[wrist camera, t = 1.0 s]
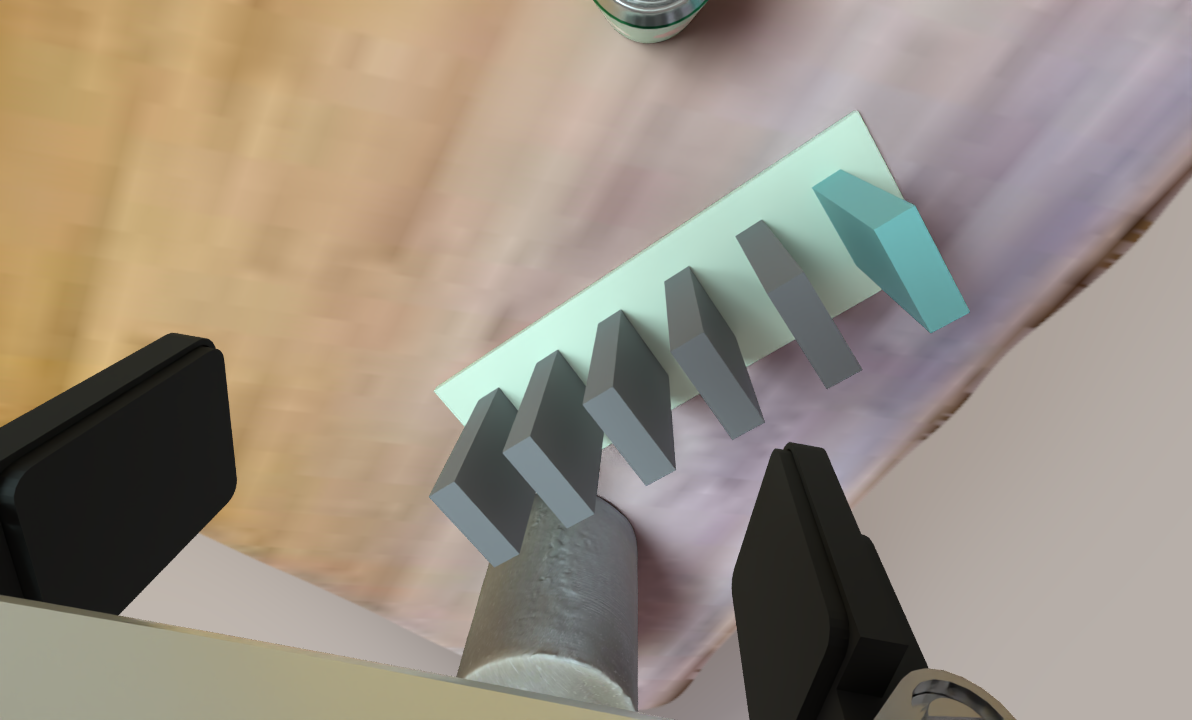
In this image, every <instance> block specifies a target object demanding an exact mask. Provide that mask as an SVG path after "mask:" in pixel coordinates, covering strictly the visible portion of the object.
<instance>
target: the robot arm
mask: <svg viewBox="0 0 1192 720" xmlns="http://www.w3.org/2000/svg"><path fill="white" fill-rule="evenodd" d="M236 484H237V476H236V467H235V457H234V448H233V438H232V429H231V420H230V410H229V401H228V391H227V382H226V373H225V363H224V357H223V354H222V352H221V351H220V350H218V349H216V348H215V346H214V344H213V342H212V341H210V340H209V339H206V338H200V337H195V336H189V335H183V334H178V333H170V334H167V335H165V336H163V337H162V338H160V339H158V340H156V341H154V342H153V343H151V344H149V345H147V346H145V347H144V348H142V349H140V350H138V351H136V352H135V353H133V354H131V355H129V356H128V357H126V358H124V359H122V360H120V361H119V362H117V363H115V364H113V365H111V366H110V367H108V368H106V369H104V370H102V371H101V372H99V373H97V374H95V375H94V376H92V377H90V378H88V379H86V380H85V381H83V382H81V383H79V384H77V385H76V386H74V387H72V388H70V389H69V390H67V391H65V392H63V393H61V394H60V395H58V396H56V397H54V398H52V399H51V400H49V401H47V402H45V403H43V404H42V405H40V406H38V407H36V408H35V409H33V410H31V411H29V412H27V413H26V414H24V415H22V416H20V417H18V418H17V419H15V420H13V421H11V422H9V423H8V424H6V425H4V426H2V427H1V428H0V720H675V719H669V718H664V717H658V716H654V715H649V714H644V713H640V712H635V711H630V710H625V709H620V708H615V707H610V706H605V705H600V704H594V703H589V702H584V701H578V700H573V699H568V698H563V697H557V696H552V695H547V694H542V693H536V692H531V691H526V690H521V689H515V688H510V687H505V686H500V685H494V684H489V683H484V682H479V681H473V680H468V679H463V678H457V677H452V676H447V675H441V674H436V673H431V672H425V671H420V670H415V669H409V668H404V667H398V666H392V665H388V664H382V663H377V662H372V661H366V660H360V659H355V658H350V657H345V656H339V655H334V654H328V653H322V652H317V651H311V650H306V649H301V648H295V647H290V646H285V645H279V644H273V643H268V642H263V641H257V640H252V639H246V638H241V637H235V636H230V635H224V634H219V633H213V632H208V631H202V630H196V629H191V628H185V627H179V626H174V625H168V624H162V623H157V622H151V621H146V620H140V619H134V618H129V617H123V616H118V615H119V614H120V613H121V612H122V611H123V610H124V609H125V608H126V607H127V606H128V605H129V604H130V603H131V602H132V601H133V600H134V599H135V598H136V597H137V596H138V595H139V593H141V592H142V590H144V588H145V587H146V586H147V585H148V584H149V583H150V582H151V581H152V580H153V579H154V578H155V577H156V576H157V575H158V574H159V573H160V572H161V571H162V570H163V569H164V568H165V567H166V566H167V565H168V564H169V563H170V562H171V561H172V560H173V559H174V558H175V557H176V556H177V554H178V553H179V552H180V551H181V550H182V549H183V548H184V547H185V546H186V545H187V544H188V543H189V542H190V541H191V540H192V539H193V538H194V537H195V536H196V535H197V534H198V533H199V532H200V531H201V530H202V529H203V528H204V527H205V526H206V525H207V524H208V523H209V522H210V521H211V520H212V518H213V517H214V516H215V515H216V514H217V513H218V512H219V511H220V510H221V509H222V508H223V507H224V506H225V505H226V504H227V503H228V502H229V501H230V499H231V498H232V496H233V494H234V492H235V489H236ZM732 597H733V604H734V611H735V618H736V626H737V633H738V640H739V647H740V654H741V662H742V669H743V676H744V683H745V690H746V698H747V705H748V712H749V719H750V720H1016V719H1015V718H1014V717H1013V716H1012V715H1011V713H1009V711H1008V710H1007V709H1006V708H1005V707H1004V706H1003V705H1002V704H1001V703H1000V702H999V701H998V700H996V699H995V698H994V697H993V696H991V695H990V694H989V693H987V692H986V691H985V690H984V689H982V688H981V687H979V686H977V685H976V684H974V683H972V682H970V681H968V680H967V679H965V678H963V677H961V676H958V675H955V674H952V673H949V672H947V671H944V670H936V669H929V668H928V666H927V663H926V661H925V659H924V657H923V654H922V652H921V650H920V648H919V645H918V643H917V641H916V639H915V637H914V634H913V632H912V630H911V628H910V625H909V623H908V621H907V619H906V616H905V614H904V612H903V610H902V607H901V605H900V603H899V601H898V598H897V596H896V594H895V592H894V589H893V587H892V585H891V583H890V580H889V578H888V576H887V574H886V571H885V569H884V567H883V565H882V562H881V560H880V558H879V556H878V553H877V551H876V549H875V547H874V545H873V543H872V541H871V540H870V538H868V537H867V536H865V535H862V534H861V532H860V530H859V528H858V525H857V523H856V521H855V518H854V516H853V514H852V511H851V509H850V507H849V504H848V502H847V500H846V497H845V495H844V493H843V490H842V488H841V486H840V483H839V481H838V479H837V476H836V474H835V472H834V469H833V467H832V465H831V462H830V460H829V458H828V455H827V453H826V451H825V450H824V449H823V448H820V447H814V446H808V445H803V444H797V443H792V442H789V443H787V444H786V446H785V447H784V449H783V450H782V449H774V450H773V452H772V454H771V456H770V459H769V463H768V466H767V469H766V472H765V475H764V478H763V481H762V484H761V487H760V491H759V494H758V497H757V500H756V503H755V506H754V509H753V512H752V515H751V518H750V522H749V525H748V528H747V531H746V534H745V537H744V540H743V543H742V546H741V549H740V553H739V556H738V559H737V562H736V565H735V568H734V572H733V577H732Z"/></svg>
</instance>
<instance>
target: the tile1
mask: <svg viewBox="0 0 1192 720" xmlns="http://www.w3.org/2000/svg"><path fill="white" fill-rule="evenodd" d="M812 189H813V191H814V192H815V194H816V196H817V198H818V199H819V201H820V203H821V205H822V206H823V208H824V210H825V212H826V214H827V215H828V217H829V219H830V221H831V222H832V224H833V226H834V228H835V229H836V231H837V233H838V235H839V236H840V238H841V240H842V242H843V243H844V245H845V247H846V249H847V251H848V252H849V254H850V256H851V258H852V259H853V261H854V263H855V265H856V266H857V267H858V268H859V269H860V270H861V271H863V272H864V273H865V274H866V275H867V276H868V277H869V278H870V279H871V280H872V281H874V282H875V283H876V284H877V285H878V286H879V287H880V288H881V289H882V290H883V291H885V292H886V293H887V294H888V295H889V296H890V297H891V298H892V299H893V300H894V301H896V302H897V303H898V304H899V305H900V306H901V307H902V308H903V309H904V310H905V311H907V312H908V313H909V314H910V315H911V316H912V317H913V318H914V319H915V320H916V321H918V322H919V323H920V324H921V325H922V326H923V327H924V328H925V329H926V330H927V331H929V332H930V333H933V332H934V331H936V330H938V329H940V328H942V327H944V326H946V325H947V324H949V323H951V322H953V321H955V320H957V319H959V318H961V317H962V316H964V315H966V314H968V313H970V311H969V309H968V307H967V305H966V303H965V301H964V299H963V297H962V295H961V293H960V292H959V290H958V288H957V286H956V284H955V282H954V280H953V278H952V276H951V274H950V272H949V270H948V268H947V266H946V264H945V263H944V261H943V259H942V257H941V255H940V253H939V251H938V249H937V247H936V245H935V243H934V241H933V239H932V237H931V235H930V234H929V232H928V230H927V228H926V226H925V224H924V222H923V220H922V218H921V216H920V214H919V212H918V210H917V208H916V206H915V205H913V204H911V203H909V202H907V201H905V200H903V199H901V198H899V197H897V196H895V195H893V194H890V193H888V192H886V191H884V190H882V189H880V188H878V187H876V186H874V185H872V184H870V183H868V182H866V181H864V180H862V179H860V178H858V177H855V176H853V175H851V174H849V173H847V172H845V171H843V170H841V169H840V170H838V171H837V172H835V173H834V174H832V175H830V176H829V177H827V178H826V179H824V180H823V181H821V182H819V183H818V184H816V185H815V186H813V187H812Z"/></svg>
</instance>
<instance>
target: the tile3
mask: <svg viewBox="0 0 1192 720" xmlns="http://www.w3.org/2000/svg"><path fill="white" fill-rule="evenodd" d="M664 285H665V297H666V308H667V320H668V331H669V343H670V352H671V354H672V355H673V356H674V358H675V359H676V361H677V362H678V364H679V365H680V366H681V368H682V369H683V371H684V372H685V373H686V375H687V376H688V378H689V379H690V381H691V382H692V383H693V385H694V386H695V388H696V389H697V390H698V392H699V393H700V395H701V396H702V398H703V399H704V400H705V402H706V403H707V405H708V406H709V407H710V409H711V410H712V412H713V413H714V415H715V416H716V417H717V419H718V420H719V422H720V423H721V424H722V426H723V427H724V429H725V430H726V432H727V433H728V434H729V436H730V437H731V439H732V440H733V439H735V438H737V437H739V436H740V435H742V434H744V433H746V432H748V431H750V430H752V429H754V428H755V427H757V426H759V425H761V424H763V423H765V421H764V418H763V415H762V412H761V409H760V406H759V404H758V401H757V398H756V395H755V392H754V389H753V386H752V383H751V380H750V377H749V374H748V371H747V368H746V366H745V363H744V360H743V357H742V354H741V351H740V348H739V345H738V342H737V339H736V336H735V335H734V333H733V332H732V330H731V329H730V327H729V326H728V324H727V323H726V321H725V320H724V318H723V317H722V315H721V314H720V312H719V311H718V309H717V308H716V306H715V305H714V303H713V302H712V300H711V299H710V297H709V296H708V294H707V293H706V291H705V290H704V288H703V286H702V285H701V283H700V282H699V280H698V279H697V277H696V276H695V274H694V273H693V271H692V270H691V268H690V267H689V266H688V267H686V268H685V269H683V270H681V271H680V272H678V273H677V274H675V275H674V276H672V277H671V278H669V279H667V280H666V281H664Z"/></svg>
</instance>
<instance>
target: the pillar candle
mask: <svg viewBox="0 0 1192 720" xmlns="http://www.w3.org/2000/svg"><path fill="white" fill-rule="evenodd" d="M637 557H638V552H637V542H636V536H635V533H634V530H633V528H632V526H631V524H630V522H629V521H628V520H627V519H626V518H625V517H624V516H623V515H622V514H621V513H620V512H619V511H618V510H616V509H615V508H614V507H613V506H611V505H610V504H608V503H607V502H605V501H604V500H602V499H601V498H599V497H597V496H596V504H595V513H594V514H593V515H591V516H589V517H588V518H586V519H584V520H582V521H580V522H578V523H576V524H575V525H573V526H571V527H569V528H566V527H565V526H564V524H563V523H562V522H561V521H560V520H559V519H558V517H557V516H556V515H555V514H554V513H553V512H552V510H551V509H550V508H549V507H548V506H547V504H546V503H545V502H544V501H543V500H542V499H541V497H540V496H539V495H538V494H535V497H534V501H533V505H532V509H531V512H530V516H529V520H528V524H527V528H526V531H525V535H524V539H523V543H522V546H521V550H520V554H519V555H517V556H515V557H513V558H511V559H509V560H507V561H506V562H504V563H502V564H500V565H498V566H496V567H493V566H492V564H491V563H490V562H489V565H488V569H487V573H486V576H485V579H484V582H483V585H482V588H481V592H480V596H479V599H478V603H477V607H476V610H475V614H474V618H473V621H472V624H471V628H470V631H469V634H468V637H467V641H466V645H465V648H464V651H463V655H462V659H461V663H460V666H459V669H458V673H457V676H456V677H457V678H463V679H468V680H473V681H479V682H484V683H489V684H494V685H500V686H505V687H510V688H515V689H521V690H526V691H531V692H536V693H542V694H547V695H552V696H557V697H563V698H568V699H573V700H578V701H584V702H589V703H594V704H600V705H605V706H610V707H615V708H620V709H625V710H630V711H635V712H638V574H637Z"/></svg>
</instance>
